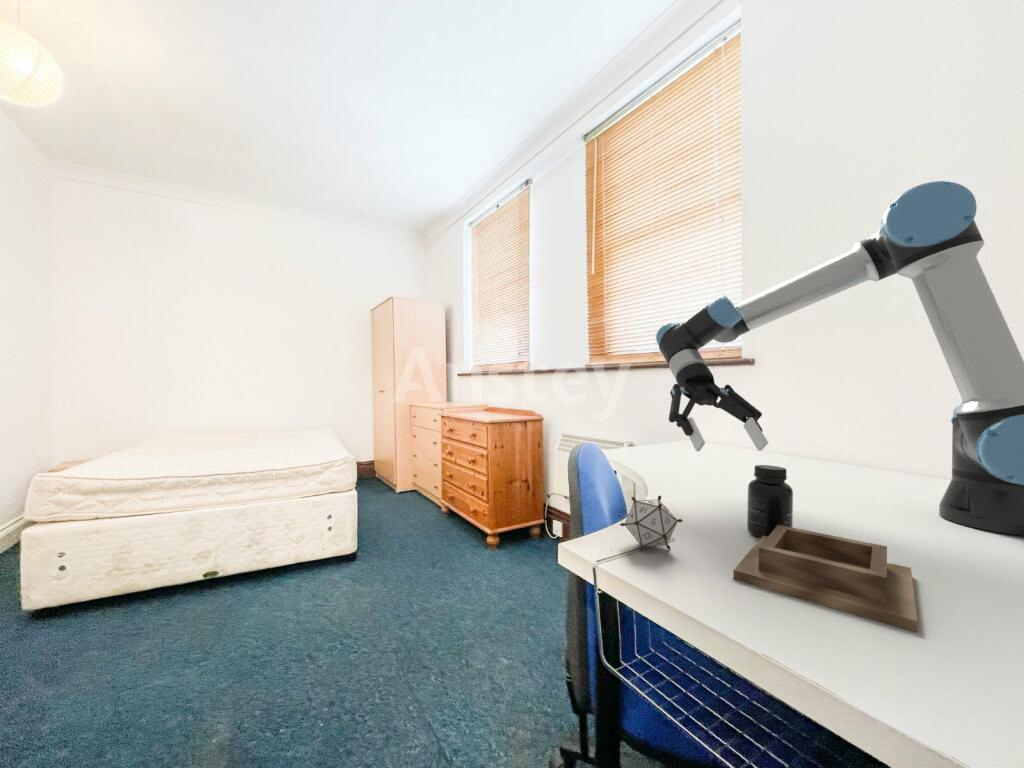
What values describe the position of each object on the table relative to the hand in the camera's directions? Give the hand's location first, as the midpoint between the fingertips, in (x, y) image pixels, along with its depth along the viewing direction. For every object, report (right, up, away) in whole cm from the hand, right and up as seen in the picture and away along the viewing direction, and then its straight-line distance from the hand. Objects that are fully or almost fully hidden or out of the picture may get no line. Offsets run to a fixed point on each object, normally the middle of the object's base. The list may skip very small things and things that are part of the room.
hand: (732, 447), depth 84 cm
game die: (-22, -14, -16) cm, 30 cm away
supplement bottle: (+2, -14, -9) cm, 17 cm away
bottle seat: (-1, -14, -26) cm, 30 cm away
